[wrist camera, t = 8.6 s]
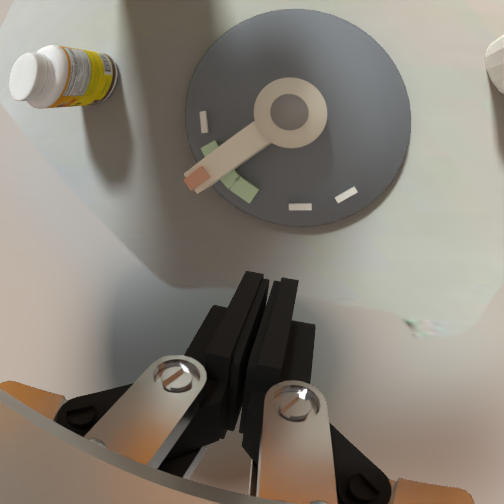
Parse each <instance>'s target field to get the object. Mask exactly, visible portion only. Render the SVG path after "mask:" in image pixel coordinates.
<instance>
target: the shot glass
mask: <svg viewBox="0 0 504 504" xmlns="http://www.w3.org/2000/svg"><path fill="white" fill-rule="evenodd" d="M485 63H486V70H487V72H488V75H489V77H490V79H491V81H492V83H493V84H494V85H495V87H496V88H497V89H498V91H499V92H501V93H502V94H504V35H502V36H501V37H499V38H498V39H496V40H495V41H493V42H492V43H491V44H490V45H489V47H488V48H487V51H486V55H485Z"/></svg>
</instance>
